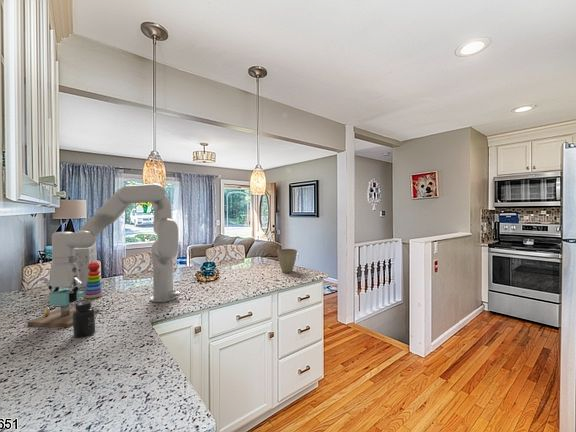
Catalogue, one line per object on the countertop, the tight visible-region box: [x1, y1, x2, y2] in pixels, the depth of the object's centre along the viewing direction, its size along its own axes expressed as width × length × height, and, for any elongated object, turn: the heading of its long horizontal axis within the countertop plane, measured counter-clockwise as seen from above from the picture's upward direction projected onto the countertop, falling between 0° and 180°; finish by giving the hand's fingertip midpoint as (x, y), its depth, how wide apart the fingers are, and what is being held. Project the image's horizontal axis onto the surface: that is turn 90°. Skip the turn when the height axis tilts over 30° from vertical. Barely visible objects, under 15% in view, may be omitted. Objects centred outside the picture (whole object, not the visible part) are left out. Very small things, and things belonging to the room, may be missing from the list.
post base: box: [27, 304, 100, 328], centre depth 121 cm, size 18×16×6 cm
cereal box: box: [74, 243, 98, 292], centre depth 165 cm, size 22×8×25 cm, turn 25°
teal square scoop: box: [49, 288, 85, 307], centre depth 123 cm, size 13×7×5 cm, turn 176°
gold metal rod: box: [44, 306, 50, 317], centre depth 119 cm, size 1×1×4 cm
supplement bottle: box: [72, 300, 96, 338], centre depth 106 cm, size 7×7×12 cm
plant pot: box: [276, 248, 298, 273], centre depth 207 cm, size 15×15×16 cm
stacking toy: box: [84, 262, 103, 300], centre depth 149 cm, size 8×8×19 cm
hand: (64, 300), depth 120 cm, fingers closed on teal square scoop, 7 cm apart
